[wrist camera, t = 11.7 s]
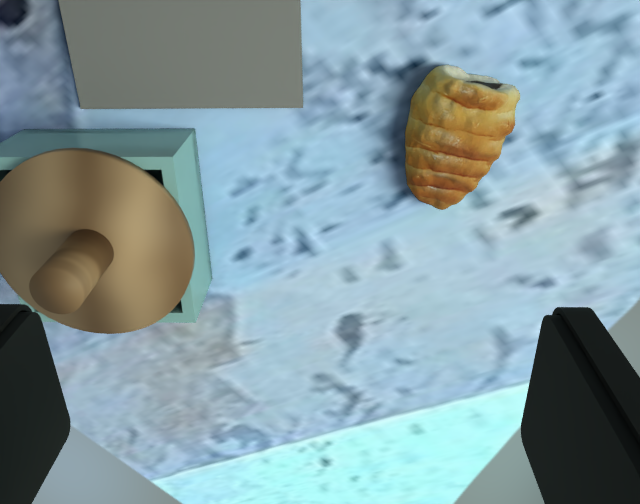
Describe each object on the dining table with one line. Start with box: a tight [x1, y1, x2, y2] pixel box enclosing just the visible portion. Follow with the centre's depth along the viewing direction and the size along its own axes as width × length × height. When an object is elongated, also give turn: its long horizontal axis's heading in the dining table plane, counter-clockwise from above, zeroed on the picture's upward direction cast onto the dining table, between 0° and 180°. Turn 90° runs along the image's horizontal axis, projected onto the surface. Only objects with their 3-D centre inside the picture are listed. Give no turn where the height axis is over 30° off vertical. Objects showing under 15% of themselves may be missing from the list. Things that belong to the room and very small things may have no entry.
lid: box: [0, 148, 195, 334], centre depth 35 cm, size 13×13×6 cm
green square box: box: [0, 129, 212, 323], centre depth 40 cm, size 12×12×6 cm
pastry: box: [405, 65, 520, 210], centre depth 38 cm, size 9×7×4 cm
